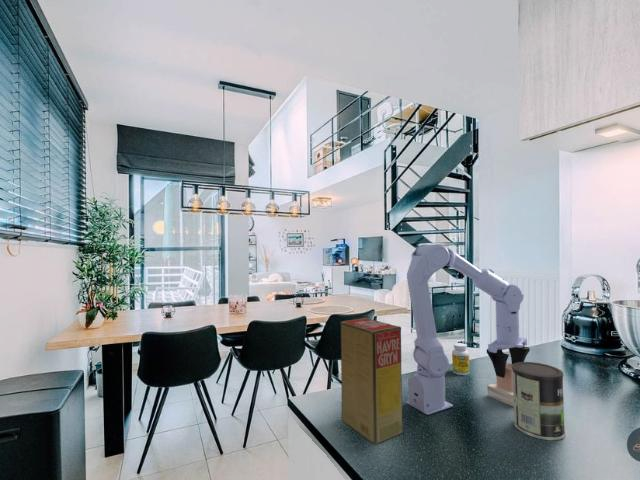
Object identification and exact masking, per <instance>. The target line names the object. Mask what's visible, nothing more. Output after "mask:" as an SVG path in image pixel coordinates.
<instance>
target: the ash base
mask: <svg viewBox="0 0 640 480" xmlns="http://www.w3.org/2000/svg"><path fill="white" fill-rule="evenodd" d="M486 387H487V397H489V398H491V399H494V400H497V401H499V402H500V403H501V402H502V403H503V404H506V405H508V406H510V407H513V408H514V395H513V392H511V391H508V390H505V389H503V388H500V387H498V386H497V381H495V382H494V383H493V382H492V383H491V384H488V385H487V386H486Z"/></svg>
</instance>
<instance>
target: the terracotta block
mask: <svg viewBox="0 0 640 480" xmlns="http://www.w3.org/2000/svg"><path fill="white" fill-rule="evenodd" d="M512 365H513V364H512V363H509V362H506V369H505V377H504V378H502V377H499V376H496V382H497V386H498V387H500V388H503V389H505V390H508V391H511V392H513V370H512Z"/></svg>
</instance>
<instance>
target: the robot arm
mask: <svg viewBox="0 0 640 480" xmlns="http://www.w3.org/2000/svg"><path fill="white" fill-rule="evenodd" d="M444 267H451V268H452V269H454V270H455V271H457V272H459V273H460V274H463V275H464V276H467V277H468V278H470V279H472V283H473V286H475V287H477V288H478V289H479V290H481V291H482V292H484V293H486V294H487V295H489V296H490V297H491V299H492V300H493V302H495V326H496V327H495V328H496V339H495V340H494V341H493V342H491V343H489V344H487V345H488V347H487V349H486V354H487V355H488V357H489V359H490V360H491V363H492V366H493V369H494V373H495V376H496V377H497V376H499V377H502V378H504V377H505V369H506V363H508V362H507V361H508V359H509V357H510V360H511V364H514V363H518V362H525V360H526V357H527V356H528V354H529V352H530V347H528V346H527V345H528V340H527V338H525V337H522V336H520V310H521V303H522V302H523V300H524V297H525V295H524V293H522V290H521V289H520V287H519V286H518V285H515V284H509V283H508V280H507V279H505V278H502V277H500V276H498V275H496V274H495V271H494V270H493V269H491V268H482V269H479V268H478V267H477V266H475V265H473V264H472V263H470V261H468V260H467V259H465V258H464V257H462V256H461V255H459V254H458V253H457V252H455V251H454V250H453V249H451V248H448V247H447V246H445V245H444V244H441V243H440V244H439V243H437V244H426V243H424V244H420V245H419V246H417V247H416V248H415V249H414V250H413V252H412V253H411V260H410V263H409V266H408V269H407V273H406V280H407V285H408V291H409V297H410V298H409V299H410V304H411V309H412V315H413V321H414V327H415V331H416V338H415V339H414V341H413V343H414V349H413V354H412V355H413V360H414V361H415V362H416V363H417V366H416V372H415V374H414V375H412V376H410V377H409V379H408V400H407V401H406V404H408V405H409V406H411V407H413V408H414V409H417V410H418V411H420V412H422V413H423V414H425V415H427V416H428V415H432V414H435V413H437V412H441V411H444V410H447V409H450V408H452V407H453V404H452V403H450V402H449V401H446V384H445V383H446V380H445V379H446V378H445V374H446V373H447V372H448V369H449V368H450V361H449V360H450V359H449V358H448V357H447V355H446V354H445V351H444V347H443V345H442V343H441V341H440V340H439V338H438V334H437V327H436V322H435V317H434V310H433V304H432V297H431V294H430V287H429V280H430V279H431V277H432V276H433V275H434V274H435V273H436V272H438V271H440V270H441V269H443V268H444ZM503 350H504V351H505V350H508V352H509V354H507V353H505V352H504V351H503Z"/></svg>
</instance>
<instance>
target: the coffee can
mask: <svg viewBox="0 0 640 480" xmlns="http://www.w3.org/2000/svg"><path fill="white" fill-rule="evenodd" d="M512 370H513V395H514V407H513V413H514V414H513V415H514V417H513V419H514V420H513V424H514V426H515V428H516V429H517V430H518V431H519V432H521V433H523V434H525V435H527V436H529V437H531V438H535V439H538V440H544V441H551V442H552V441H560V440H563V439H564V438H565V436H566V431H565V430H566V429H565V408H564V405H565V404H564V403H565V401H564V372H563V370H561V369H559V368H557V367H555V366H552V365H549V364H545V363H542V362H541V363H539V362H535V361H534V362H532V361H524V362H518V363H514V364H513V365H512Z"/></svg>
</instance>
